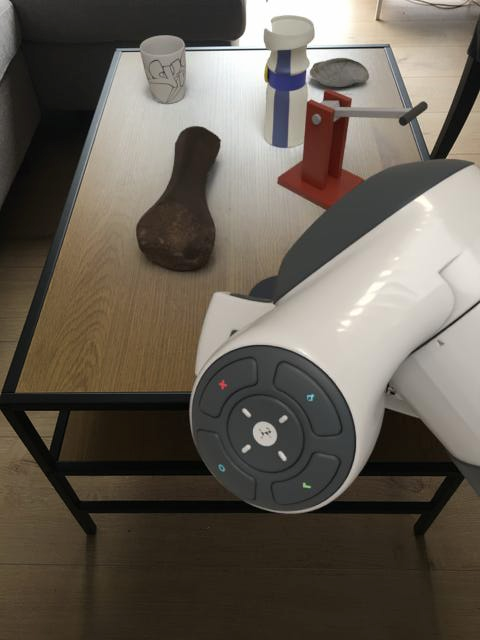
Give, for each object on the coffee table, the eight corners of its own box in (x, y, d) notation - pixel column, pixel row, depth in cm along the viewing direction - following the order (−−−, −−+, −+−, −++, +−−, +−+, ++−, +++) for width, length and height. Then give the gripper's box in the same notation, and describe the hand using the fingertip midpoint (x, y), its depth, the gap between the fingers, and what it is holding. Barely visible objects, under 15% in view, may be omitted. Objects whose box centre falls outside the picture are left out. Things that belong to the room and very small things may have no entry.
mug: (157, 77, 113) (149, 27, 105) (196, 79, 112) (191, 29, 105) (143, 106, 106) (134, 54, 98) (185, 108, 105) (179, 56, 97)
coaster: (324, 282, 75) (325, 279, 75) (317, 339, 69) (317, 336, 69) (254, 273, 77) (254, 270, 76) (240, 328, 71) (240, 325, 70)
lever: (428, 114, 71) (427, 96, 70) (407, 130, 69) (406, 112, 67) (332, 112, 82) (329, 96, 80) (311, 126, 80) (308, 110, 78)
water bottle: (255, 145, 97) (254, -8, 77) (269, 120, 102) (271, -30, 82) (299, 153, 95) (310, -2, 75) (311, 127, 100) (324, -25, 80)
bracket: (363, 185, 89) (379, 100, 77) (330, 211, 85) (341, 126, 73) (311, 159, 94) (318, 76, 82) (277, 183, 90) (280, 99, 78)
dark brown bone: (193, 290, 78) (211, 188, 98) (225, 238, 71) (238, 140, 91) (121, 260, 75) (156, 161, 95) (148, 203, 68) (179, 110, 88)
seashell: (366, 73, 112) (370, 48, 108) (368, 93, 107) (372, 68, 103) (308, 71, 113) (310, 47, 109) (308, 92, 108) (310, 67, 104)
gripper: (497, 368, 33) (467, 342, 46) (193, 284, 38) (245, 283, 51) (466, 463, 34) (446, 411, 47) (173, 369, 39) (229, 346, 52)
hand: (339, 344), depth 49 cm, fingers open, 8 cm apart
